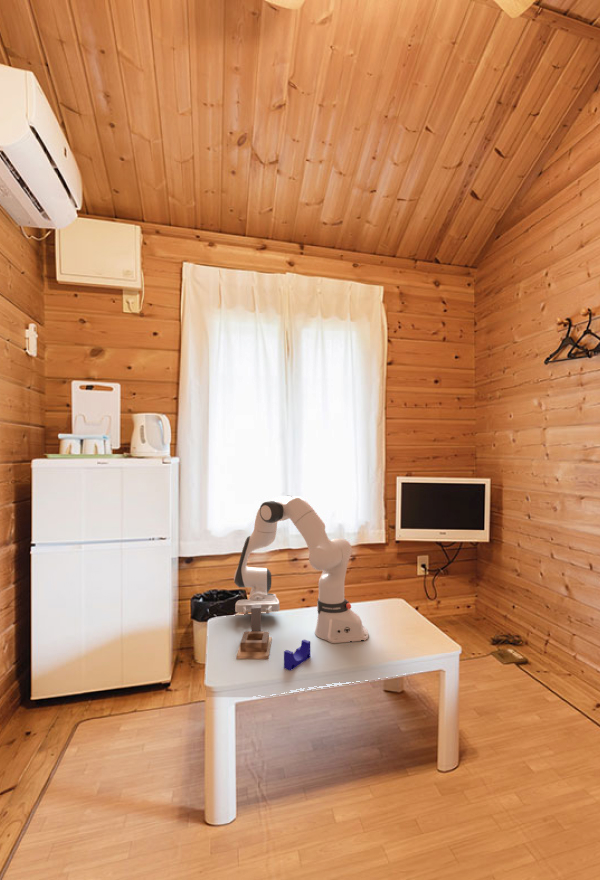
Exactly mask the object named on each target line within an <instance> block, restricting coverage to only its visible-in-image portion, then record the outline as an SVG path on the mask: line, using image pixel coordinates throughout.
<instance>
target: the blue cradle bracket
mask: <svg viewBox="0 0 600 880" xmlns="http://www.w3.org/2000/svg"><path fill="white" fill-rule="evenodd" d="M295 649H296V650H295V651H291V650H288V649H286V650H284V651H283V669H285V670H288V671H293V670H294V669H295V668H297V667H298V666H300V665H301V664H303V663H305V662H306V661H307V660H309V659H310V658H311V641H310V640H307V639H302V640H301V645H300V646H299V647H298V648H295Z"/></svg>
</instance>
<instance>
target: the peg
mask: <svg viewBox="0 0 600 880" xmlns="http://www.w3.org/2000/svg"><path fill="white" fill-rule="evenodd" d="M250 613H251V616H250V617H251V618H250V620H251V621H250V622H251V623H250V631H262V612H261V604H260V605H252V606H251V612H250Z"/></svg>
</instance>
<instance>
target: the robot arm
mask: <svg viewBox="0 0 600 880" xmlns="http://www.w3.org/2000/svg"><path fill="white" fill-rule="evenodd" d="M288 519H290V521H291V522H292V523H293V525H294V526H295V528H296V529H297V530H298V532H299V534H300V535H301V536H302V537H303V540H304V541H305V543H306V545H307V548H308V553H309V554H308V560H309V561H308V562H309V564H310V565H311V567H312V568H313V569H315V570H316V571H322V572H321V574H320V577H319V580H318V598H317V601H316V603H317V604H316V608H317V609H316V610H317V621H316V626H315V631H314V635H315V636H316V637H318V638H319V639H321V640H324V641H327V642H329V643H330V644H331V643H332V644H339V643H349V642H350V641H352V642H362V641H361V640H364V641H367V640H368V638H369V631H368V629H367V628H366V627H365V626H364V625H363V622H362V619H361V617H360V616H359V615H358V614H357V613H356V612H355V611H353V610H352V609H351V608H352V604H351V603H350V601H349V600H348V599H347V598H345V582H346V574H347V569H348V565H349V560H350V558H351V556H352V553H353V547H352V544H351V543H350V542H349V541H348V540H346V539H344V538H333V539H329V537H328V535H327V533H326V525H325V523H324V521H323V520H322V518H321V517H320V516H319V515H318V514H317V512H316V510H315V509H314V508H313V507H312V506H311V504H309V503H308V502H307V501H306V500H305V499H304V498H303V497H302V496H294V495H285V496H277V497H274V498H272V499H267V500H265V501H263V502H262V503H261V505H260V507H259V509H257V512H256V516H255V521H254V524H253V525H254V526H253V532H252V533H251V534H250V535H249V536H247V537H246V539H245V542H244V544H243V548H242V551H241V552H240V553H241V554H240V557H239V561H238V566H237V568H236V570H235V572H234V575H233V582H234V584H235V586H237V587H238V588H251V589H250V592H249V597H248V599H239V600H237V601H236V602H235V605H234V606H235V608H234V609H235V611H234V612H235V613H239V614H240V613H241V614H242V613H244V615H249V613H251V606H252V605H260V604H261V613H266V614H267V615H268V614H270V613H271V612H279V611H280V600H279V598H278V597H277V594H276V593H269V592H270V590H271V587H272V572H271V570H270V569H269V568H267V567H255V566H248V561H249V557H250V554H251V553H252V552H254V551H256V550H259V549H263V548H266V547H268V546H270V545H271V544H273V542H274V541H275V539H276V536H277V530H278V529H277V528H278V522H281V521H285V520H288ZM366 639H367V640H366ZM350 643H351V642H350Z"/></svg>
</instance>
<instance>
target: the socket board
mask: <svg viewBox="0 0 600 880" xmlns="http://www.w3.org/2000/svg"><path fill="white" fill-rule="evenodd" d="M272 640H273V637H272V636H270V632H269V631H264V630H263V631H262V630H261V631H251V630H249V631H247V630H246V631H243V633H242V636H241V640H240V642H239V646H238V650H237V653H236V656H235V657H236V660H237V659H240V660H241V659H244V660H245V659H250V660H251V659H252V660H255V659H257V660H258V659H260V660H262V659H263V660H264V659H265V660H266V659H267V660H269V658H270V654H271V653H270V651H271V647H272V646H271V645H272Z"/></svg>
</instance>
